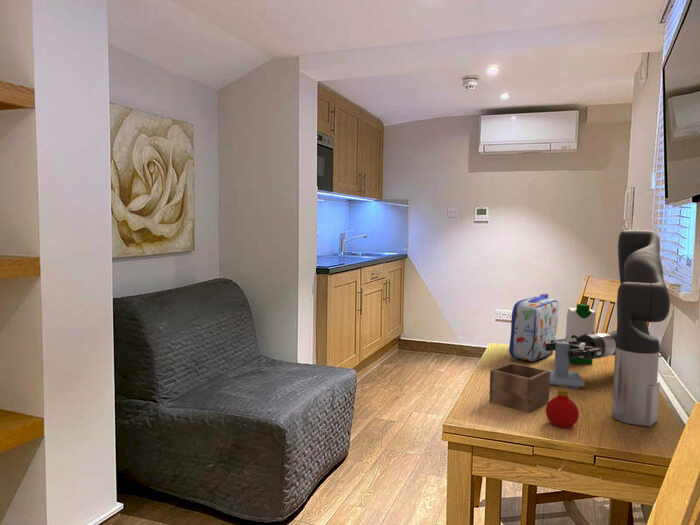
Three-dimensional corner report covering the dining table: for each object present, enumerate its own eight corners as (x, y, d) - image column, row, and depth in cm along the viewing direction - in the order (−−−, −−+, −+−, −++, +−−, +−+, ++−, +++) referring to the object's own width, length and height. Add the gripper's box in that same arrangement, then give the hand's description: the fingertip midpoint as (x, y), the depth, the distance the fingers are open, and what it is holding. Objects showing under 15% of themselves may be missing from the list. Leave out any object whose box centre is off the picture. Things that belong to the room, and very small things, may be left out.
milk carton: (567, 363, 176) (570, 305, 175) (563, 357, 185) (565, 301, 184) (595, 365, 175) (598, 306, 173) (589, 358, 183) (592, 302, 182)
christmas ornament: (574, 422, 124) (576, 381, 123) (581, 434, 117) (583, 391, 116) (542, 420, 125) (544, 379, 124) (547, 431, 118) (549, 388, 118)
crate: (548, 404, 136) (550, 370, 135) (529, 415, 128) (530, 379, 127) (509, 394, 144) (510, 362, 143) (489, 404, 136) (490, 370, 135)
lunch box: (531, 346, 200) (533, 289, 198) (559, 351, 194) (562, 292, 192) (505, 361, 178) (507, 297, 177) (535, 366, 172) (538, 300, 170)
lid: (584, 391, 148) (586, 348, 147) (542, 387, 150) (544, 345, 149) (577, 380, 158) (579, 339, 157) (538, 376, 161) (540, 337, 160)
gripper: (577, 329, 166) (539, 333, 159) (617, 338, 153) (577, 343, 146) (576, 352, 166) (538, 357, 159) (615, 363, 154) (576, 369, 147)
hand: (557, 350), depth 153 cm, fingers open, 8 cm apart
